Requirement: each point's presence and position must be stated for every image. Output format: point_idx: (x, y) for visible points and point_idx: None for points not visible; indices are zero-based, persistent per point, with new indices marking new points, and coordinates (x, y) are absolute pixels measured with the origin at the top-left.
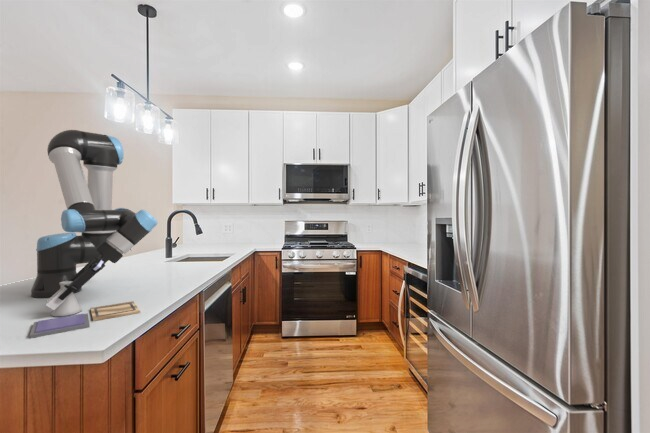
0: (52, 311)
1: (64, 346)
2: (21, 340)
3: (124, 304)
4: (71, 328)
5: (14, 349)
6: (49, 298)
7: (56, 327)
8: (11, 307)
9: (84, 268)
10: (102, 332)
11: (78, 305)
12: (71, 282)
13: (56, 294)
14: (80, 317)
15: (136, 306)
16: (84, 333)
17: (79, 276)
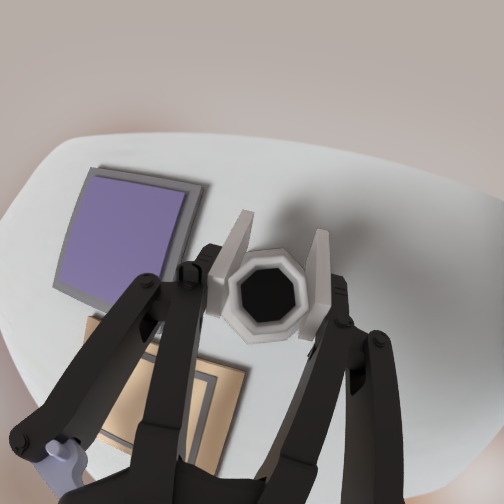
0: (278, 250)
1: (14, 215)
2: (98, 157)
3: (188, 454)
4: (63, 247)
5: (65, 149)
6: (328, 239)
7: (77, 217)
8: (477, 201)
9: (277, 454)
10: (17, 289)
11: (245, 335)
12: (240, 320)
13: (314, 261)
14: (109, 292)
15: (130, 453)
16: (34, 262)
17: (158, 359)
